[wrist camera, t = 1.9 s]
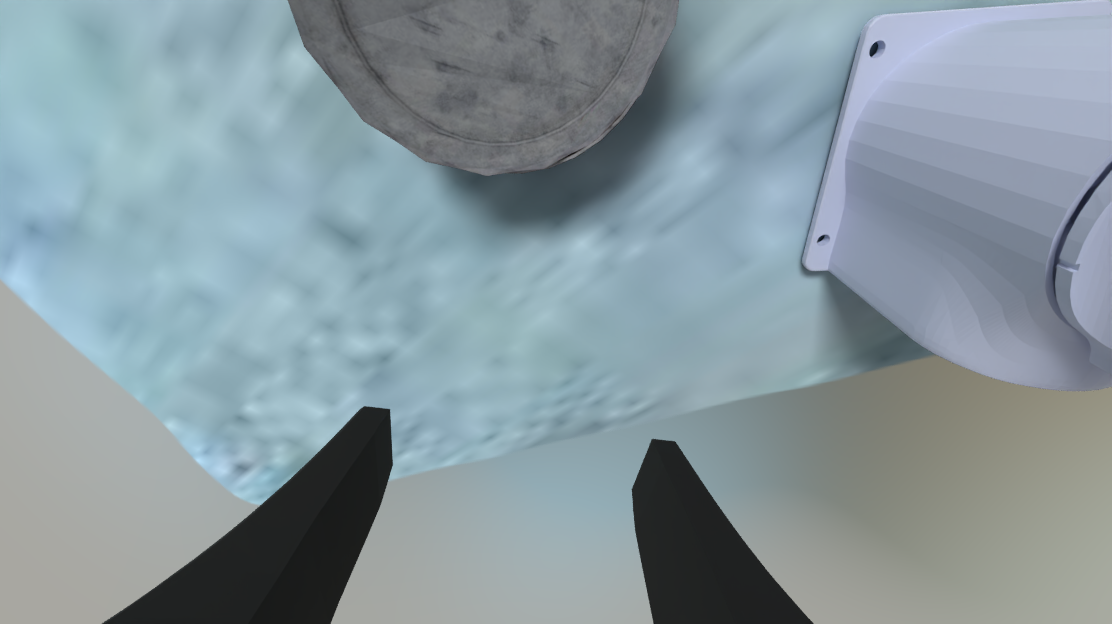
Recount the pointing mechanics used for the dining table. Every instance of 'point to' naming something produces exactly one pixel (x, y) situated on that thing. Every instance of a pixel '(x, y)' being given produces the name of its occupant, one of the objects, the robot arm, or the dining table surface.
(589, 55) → the canned food
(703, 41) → the dining table surface
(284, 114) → the dining table surface
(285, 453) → the dining table surface
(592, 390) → the dining table surface
